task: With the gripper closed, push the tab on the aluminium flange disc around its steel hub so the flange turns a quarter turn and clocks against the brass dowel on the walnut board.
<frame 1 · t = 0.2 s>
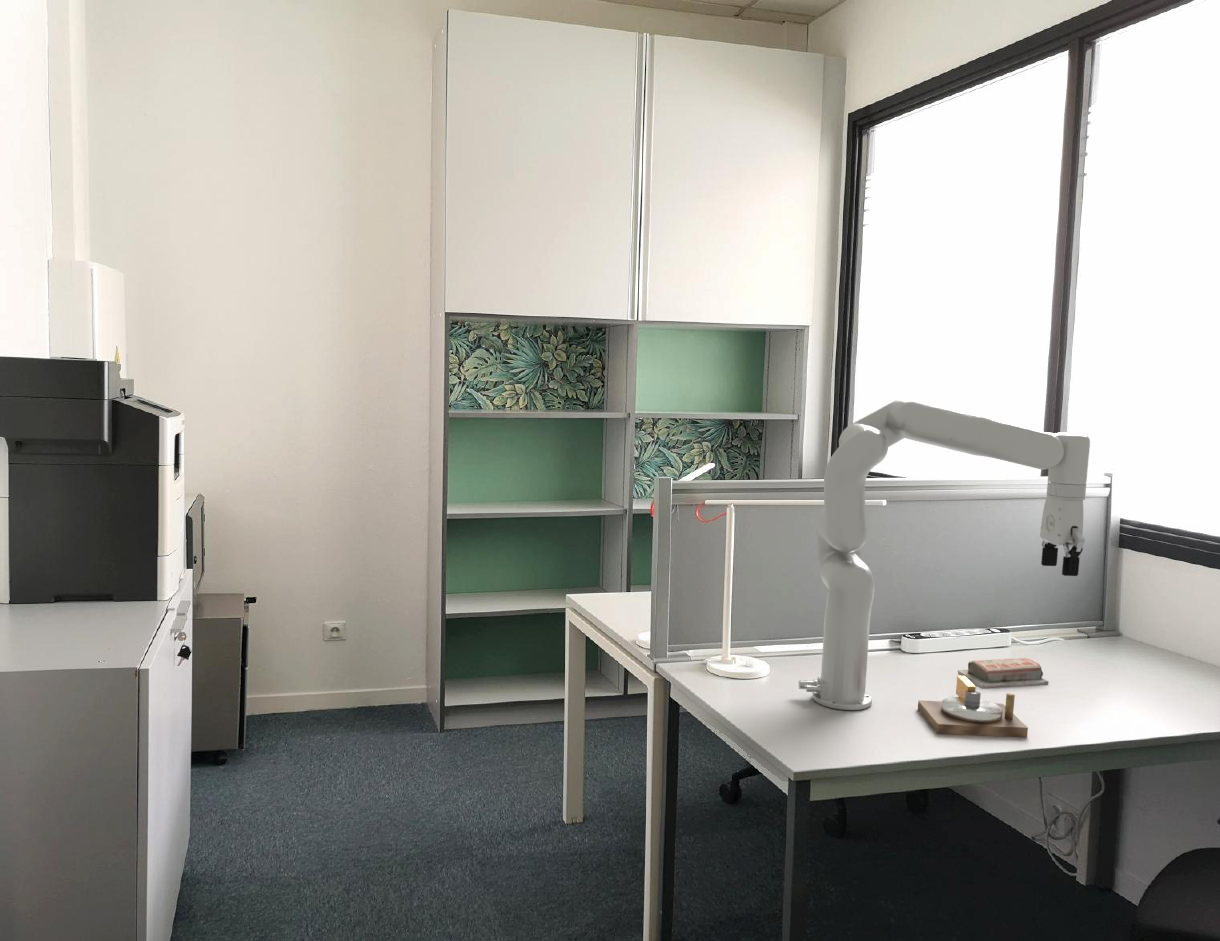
hand: (1059, 570, 222), 31 cm above the table, fingers open, 9 cm apart
board: (970, 722, 215), on the table
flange: (970, 698, 216), point 5 cm above the table, hinge at 90.0°
packaged product: (1002, 682, 246), on the table
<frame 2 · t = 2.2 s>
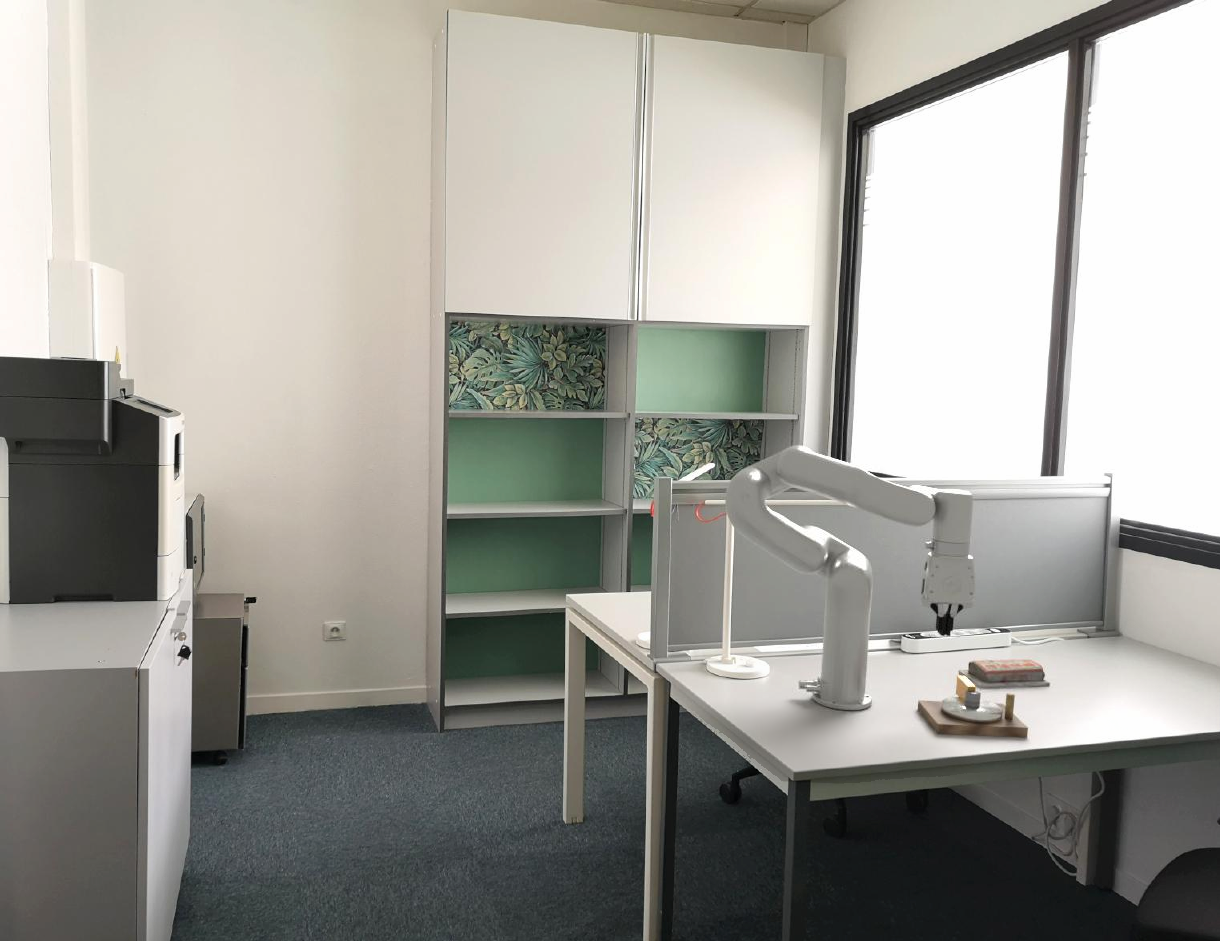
hand: (943, 633, 219), 17 cm above the table, fingers closed
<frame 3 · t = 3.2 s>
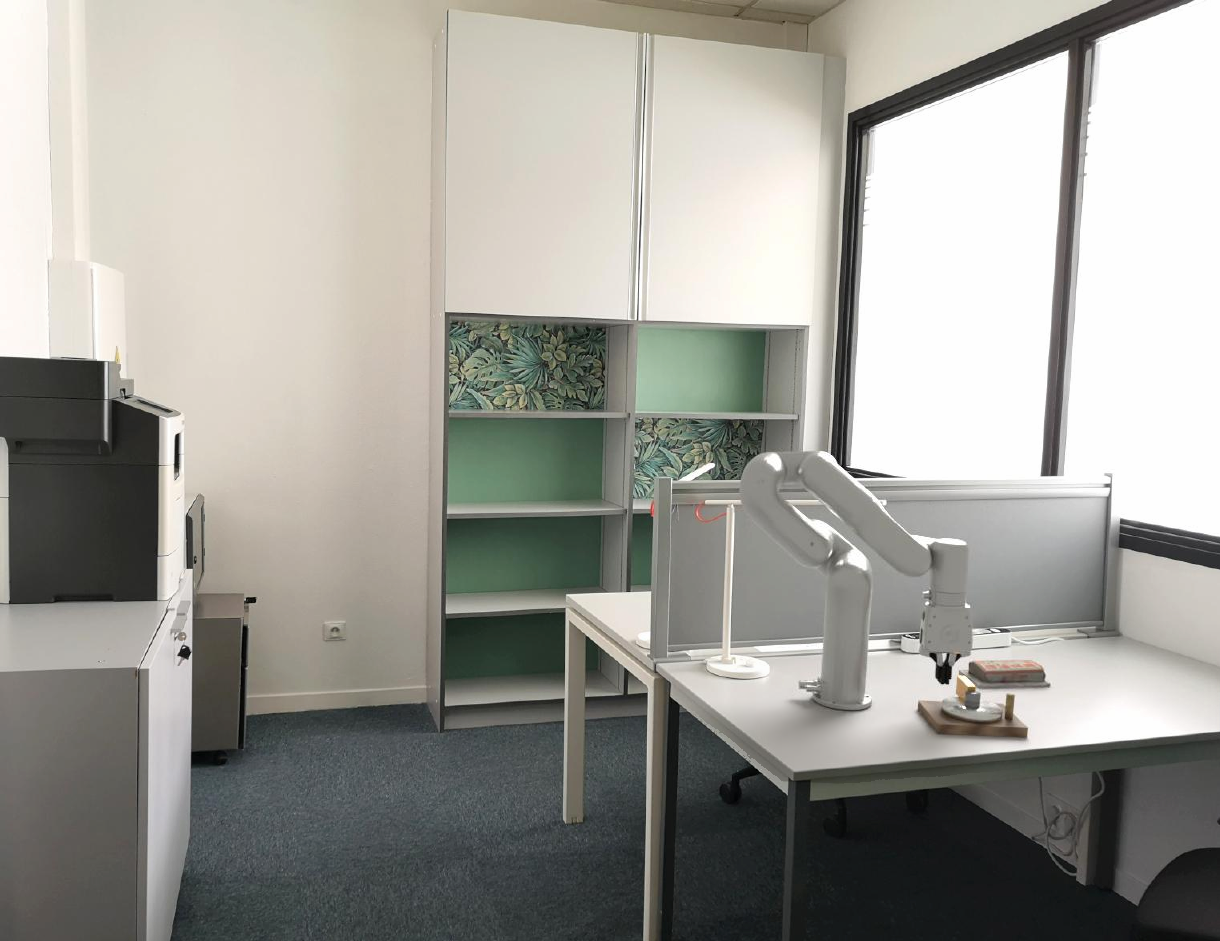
hand: (943, 682, 221), 7 cm above the table, fingers closed
nothing on the table moved.
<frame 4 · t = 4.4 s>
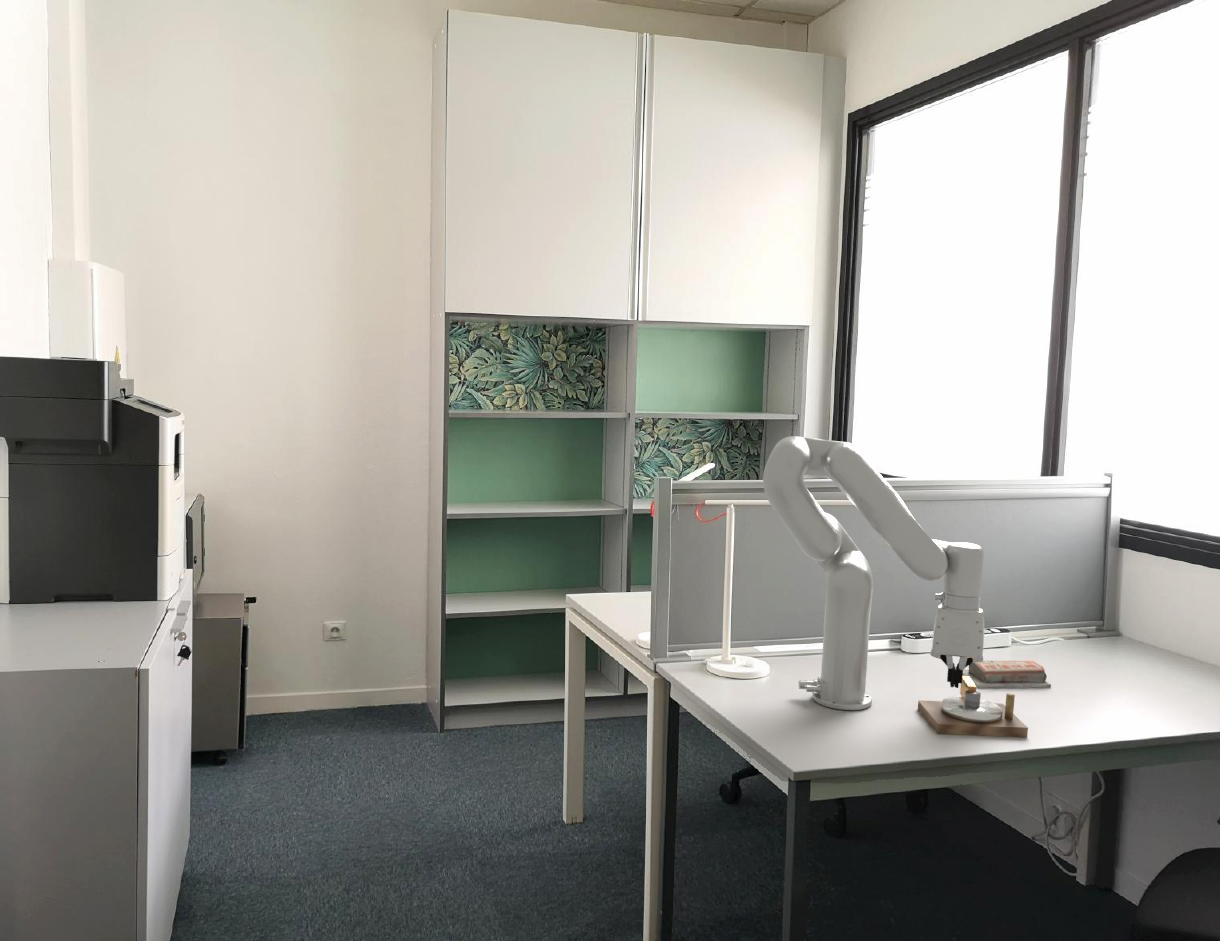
hand: (954, 685, 221), 6 cm above the table, fingers closed
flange: (971, 698, 216), point 5 cm above the table, hinge at 83.4°, touching gripper
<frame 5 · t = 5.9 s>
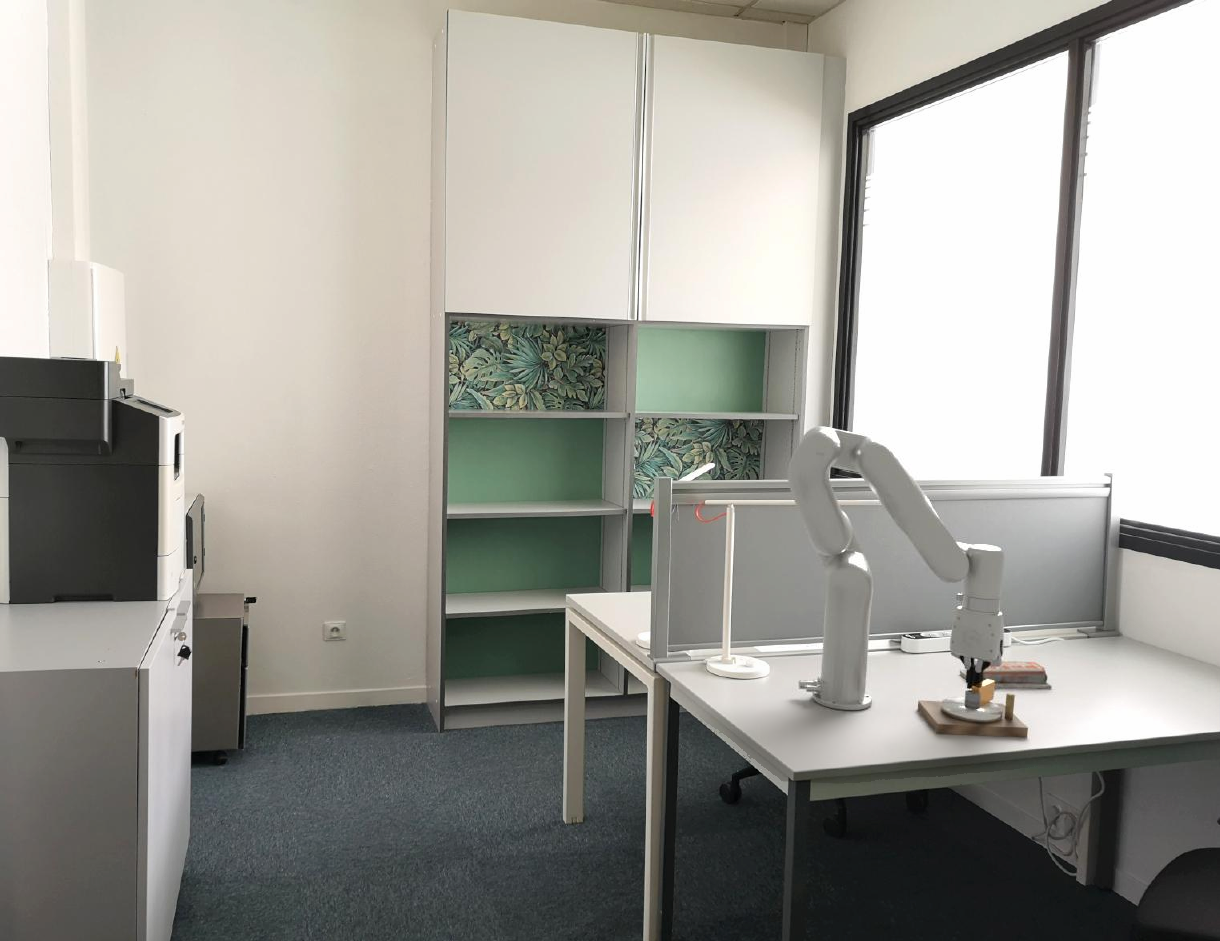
hand: (973, 687, 221), 6 cm above the table, fingers closed
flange: (974, 698, 216), point 5 cm above the table, hinge at 45.1°, touching gripper
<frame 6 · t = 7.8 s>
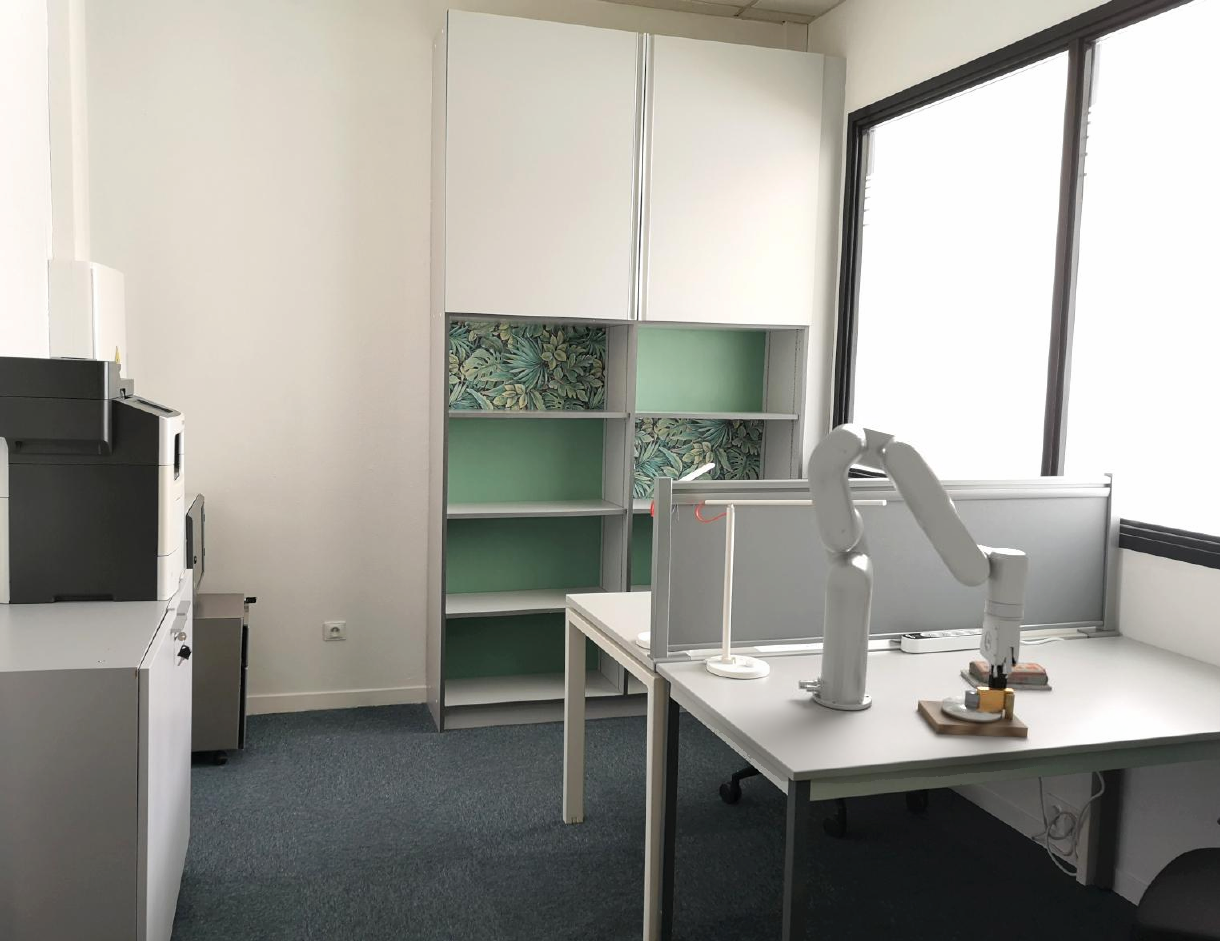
hand: (996, 694, 217), 6 cm above the table, fingers closed
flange: (977, 700, 215), point 5 cm above the table, hinge at -2.5°, touching board, gripper
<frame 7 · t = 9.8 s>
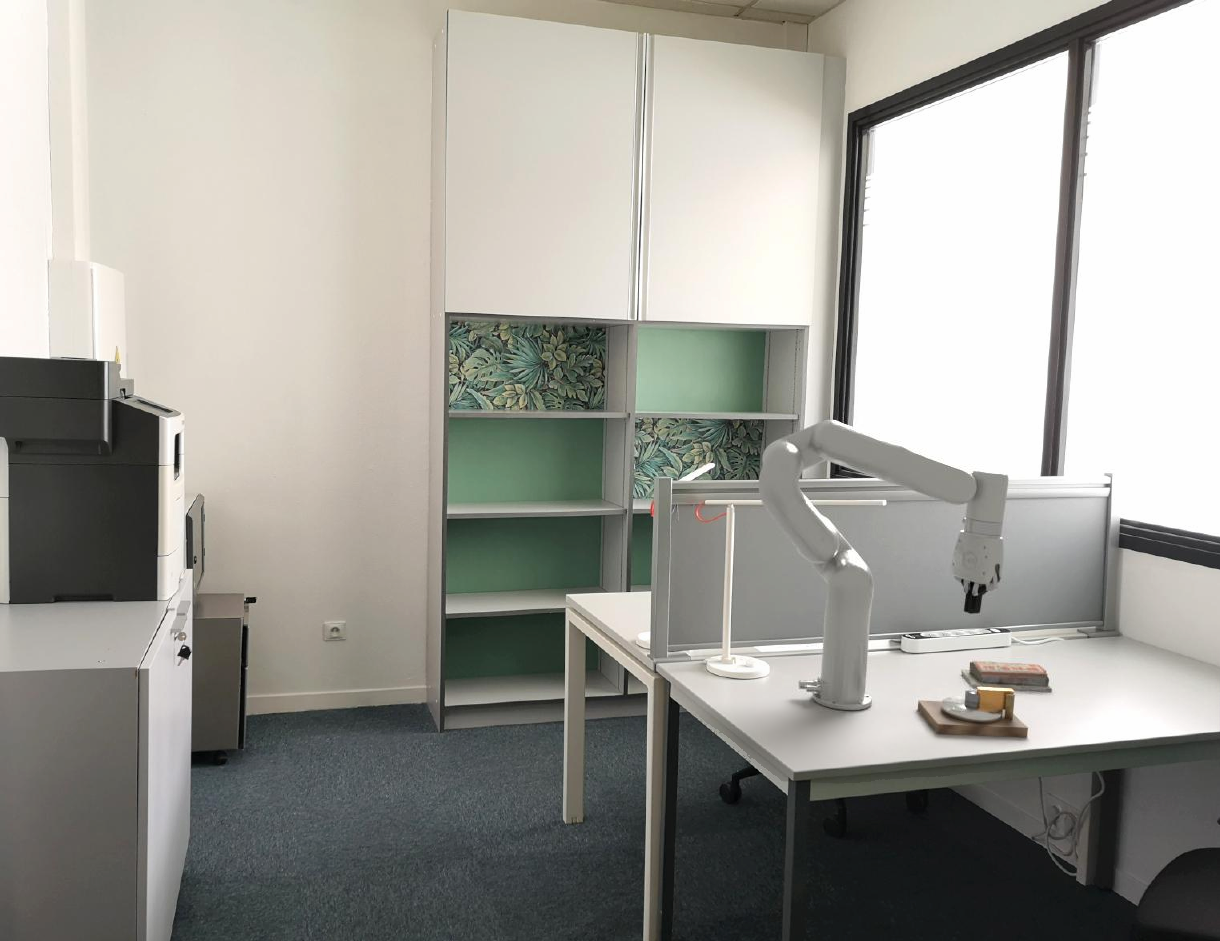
hand: (971, 612, 221), 21 cm above the table, fingers closed
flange: (977, 700, 215), point 5 cm above the table, hinge at -2.4°
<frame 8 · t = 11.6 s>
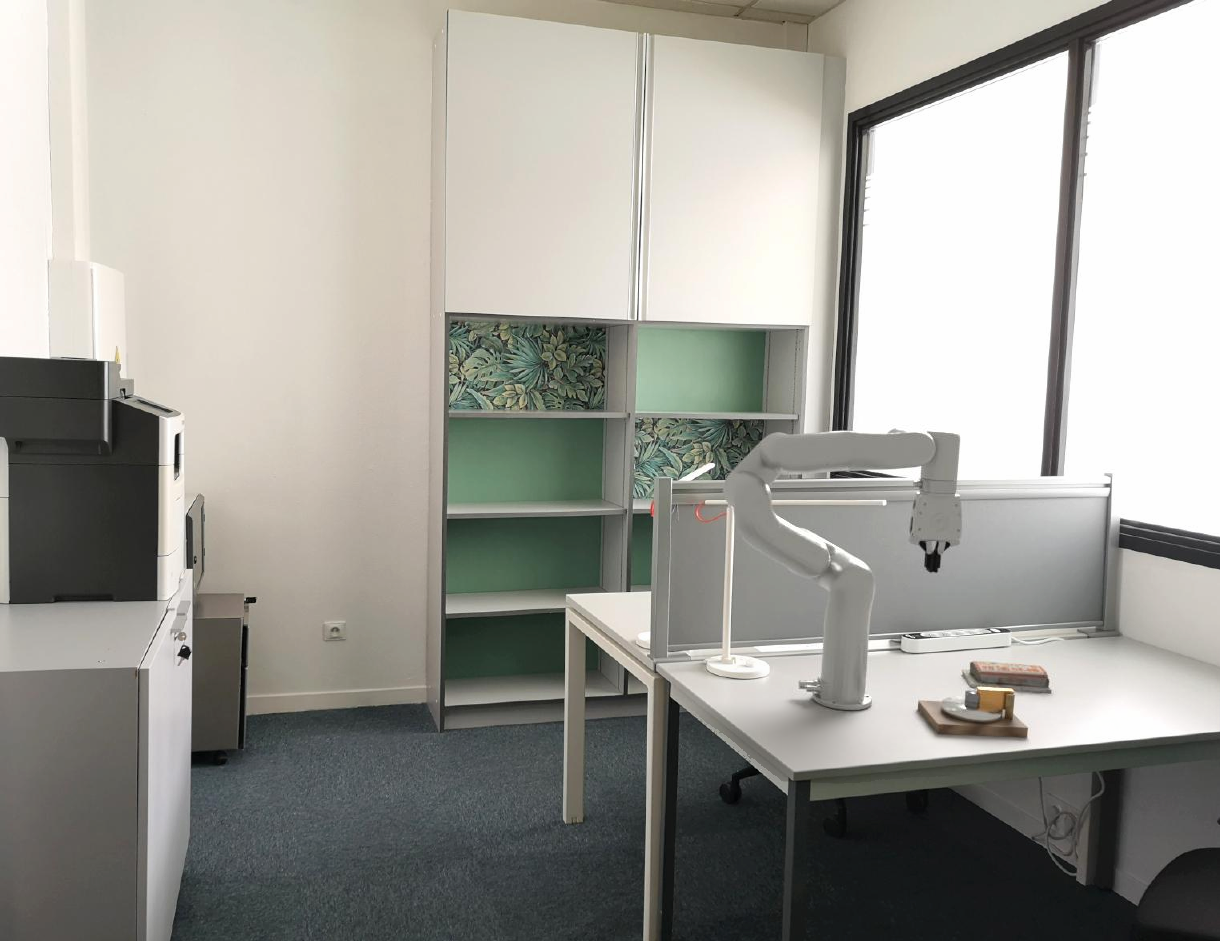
hand: (931, 571, 224), 29 cm above the table, fingers closed
at the end: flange at -2° (first picture: +90°) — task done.
